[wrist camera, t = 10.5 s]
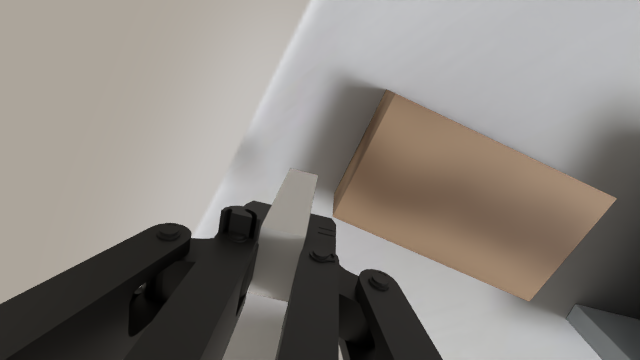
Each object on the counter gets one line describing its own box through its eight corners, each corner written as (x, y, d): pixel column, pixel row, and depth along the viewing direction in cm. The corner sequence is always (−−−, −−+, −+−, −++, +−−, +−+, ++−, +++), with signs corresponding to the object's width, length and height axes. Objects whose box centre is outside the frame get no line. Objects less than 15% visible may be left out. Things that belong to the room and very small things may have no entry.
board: (385, 89, 21) (395, 93, 17) (569, 176, 22) (617, 198, 18) (334, 192, 23) (332, 216, 19) (500, 265, 24) (529, 301, 20)
